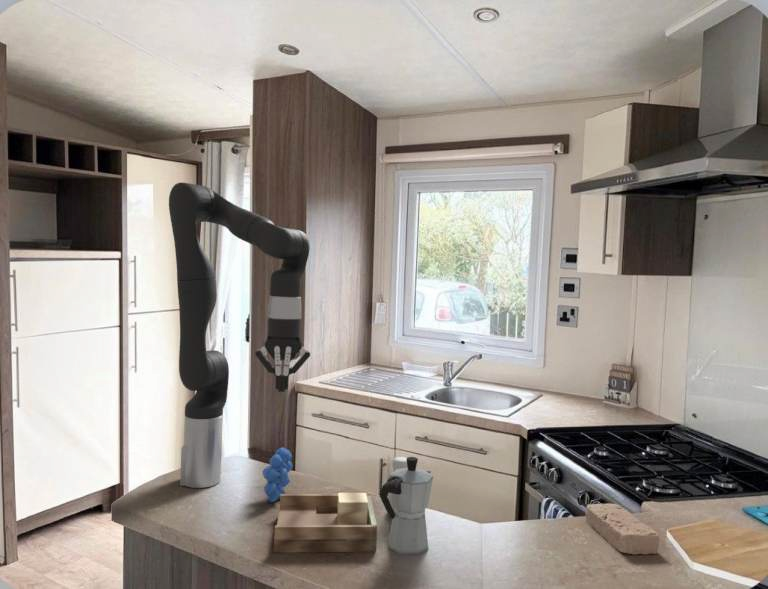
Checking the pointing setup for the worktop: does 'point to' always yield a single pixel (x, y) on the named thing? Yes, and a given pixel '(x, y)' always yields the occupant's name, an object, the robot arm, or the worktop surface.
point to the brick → (622, 529)
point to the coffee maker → (408, 508)
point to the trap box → (320, 526)
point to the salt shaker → (396, 464)
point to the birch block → (352, 509)
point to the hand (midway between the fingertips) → (281, 391)
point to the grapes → (277, 474)
